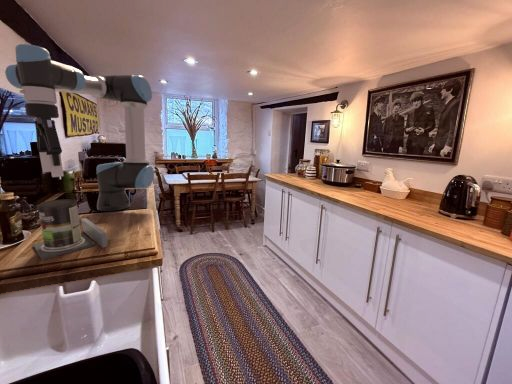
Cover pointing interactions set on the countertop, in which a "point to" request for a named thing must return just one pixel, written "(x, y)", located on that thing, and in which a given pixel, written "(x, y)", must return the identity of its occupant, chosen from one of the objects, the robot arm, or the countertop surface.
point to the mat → (49, 253)
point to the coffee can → (59, 223)
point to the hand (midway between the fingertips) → (52, 174)
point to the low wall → (94, 232)
